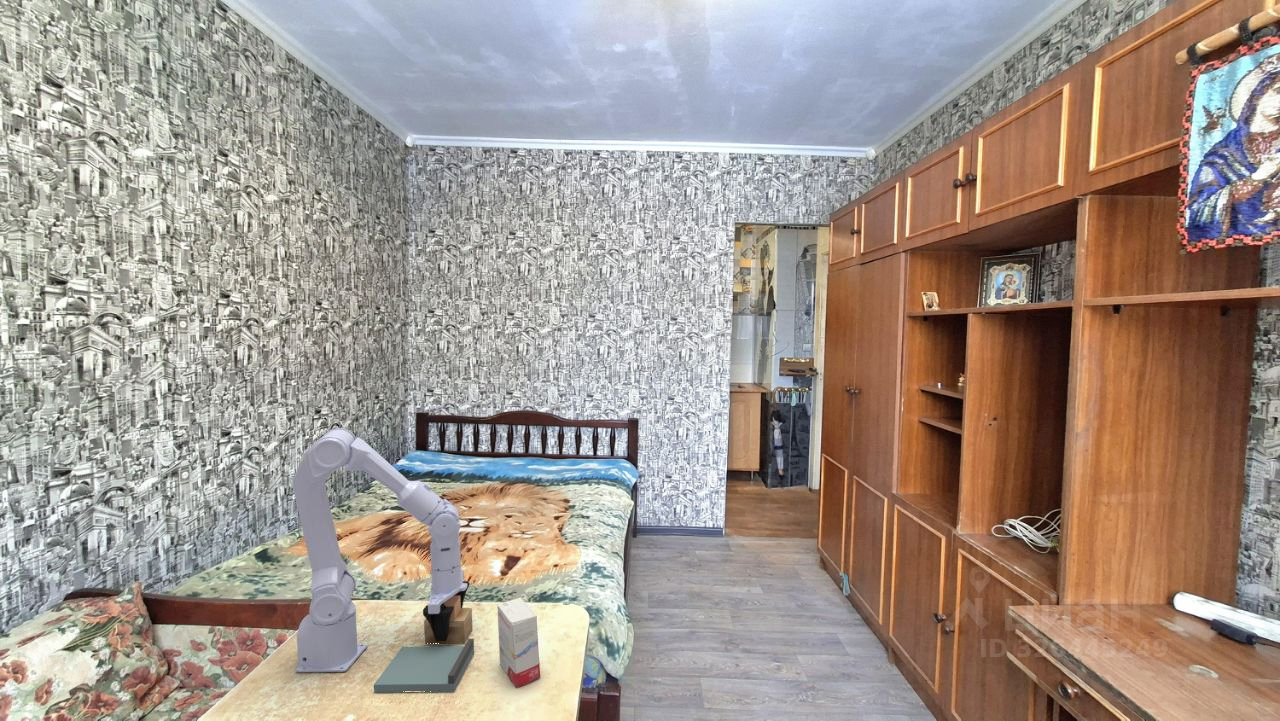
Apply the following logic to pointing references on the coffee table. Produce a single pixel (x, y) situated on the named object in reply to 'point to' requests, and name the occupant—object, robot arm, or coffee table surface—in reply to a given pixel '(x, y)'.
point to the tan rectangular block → (453, 629)
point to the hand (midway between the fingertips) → (448, 629)
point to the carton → (455, 603)
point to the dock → (426, 669)
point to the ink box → (518, 641)
